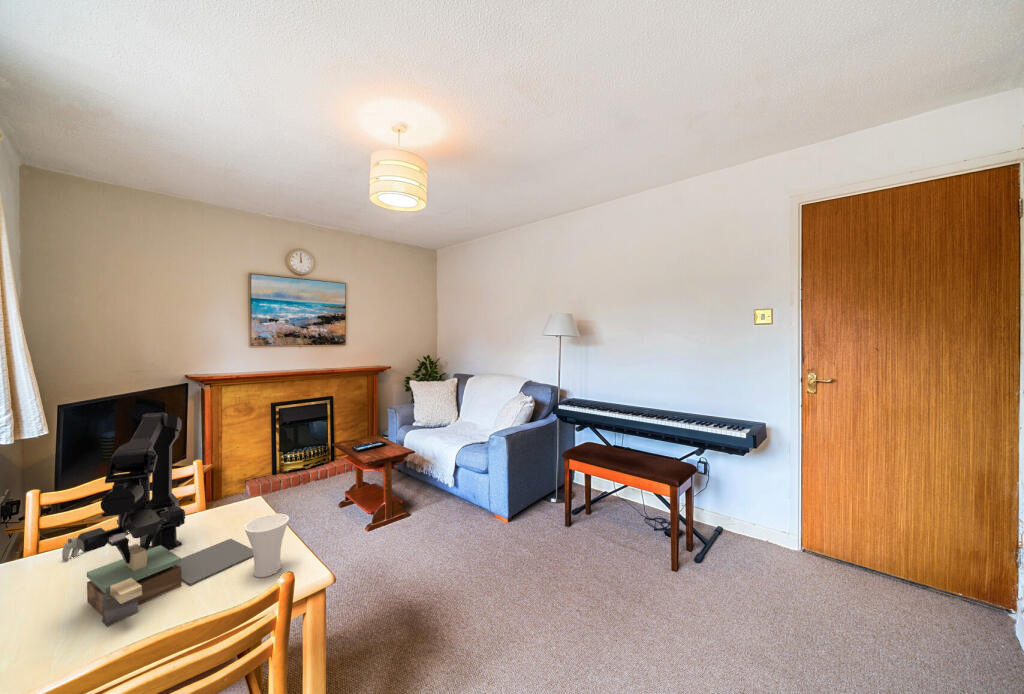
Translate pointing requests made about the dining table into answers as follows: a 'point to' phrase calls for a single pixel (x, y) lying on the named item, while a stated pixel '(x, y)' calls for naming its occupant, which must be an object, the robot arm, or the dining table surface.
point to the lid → (133, 566)
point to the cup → (266, 542)
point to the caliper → (68, 546)
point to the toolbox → (150, 590)
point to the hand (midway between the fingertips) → (135, 560)
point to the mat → (213, 561)
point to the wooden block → (125, 590)
